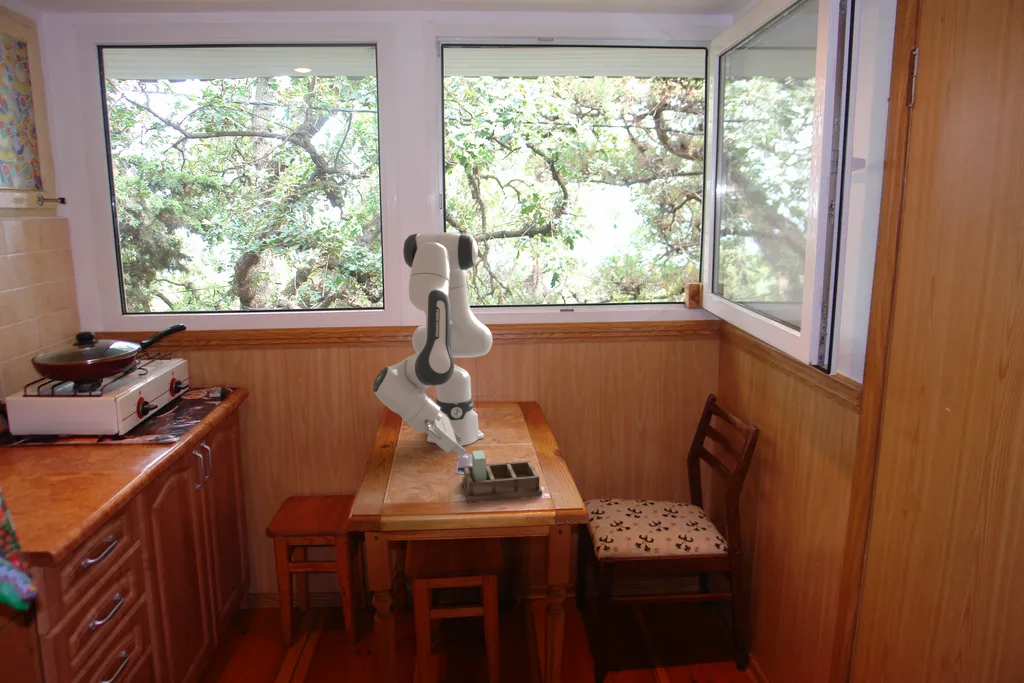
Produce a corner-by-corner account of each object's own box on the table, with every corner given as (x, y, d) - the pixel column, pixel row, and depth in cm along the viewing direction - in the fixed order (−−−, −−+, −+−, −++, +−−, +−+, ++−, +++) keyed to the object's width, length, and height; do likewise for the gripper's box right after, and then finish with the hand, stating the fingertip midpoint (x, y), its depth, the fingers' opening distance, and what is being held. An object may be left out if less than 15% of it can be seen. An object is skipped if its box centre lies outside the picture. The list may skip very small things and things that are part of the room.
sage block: (472, 481, 199) (471, 451, 197) (483, 480, 200) (482, 450, 198) (475, 490, 193) (474, 459, 192) (486, 489, 194) (485, 458, 192)
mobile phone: (455, 472, 208) (457, 453, 223) (456, 475, 208) (457, 456, 223) (482, 471, 208) (482, 452, 223) (482, 474, 209) (482, 455, 223)
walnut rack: (462, 481, 203) (461, 465, 202) (531, 475, 206) (531, 459, 205) (468, 502, 189) (468, 485, 188) (542, 495, 193) (542, 478, 192)
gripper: (435, 419, 179) (475, 452, 183) (429, 395, 199) (465, 426, 203) (418, 437, 180) (458, 470, 183) (414, 412, 199) (450, 442, 203)
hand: (462, 447), depth 193 cm, fingers open, 8 cm apart
